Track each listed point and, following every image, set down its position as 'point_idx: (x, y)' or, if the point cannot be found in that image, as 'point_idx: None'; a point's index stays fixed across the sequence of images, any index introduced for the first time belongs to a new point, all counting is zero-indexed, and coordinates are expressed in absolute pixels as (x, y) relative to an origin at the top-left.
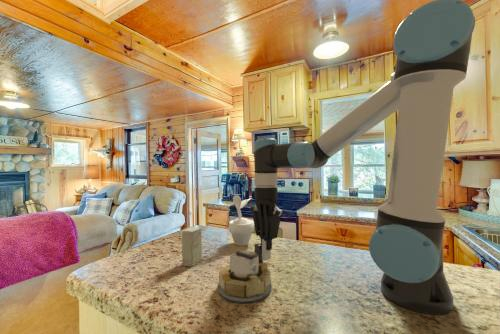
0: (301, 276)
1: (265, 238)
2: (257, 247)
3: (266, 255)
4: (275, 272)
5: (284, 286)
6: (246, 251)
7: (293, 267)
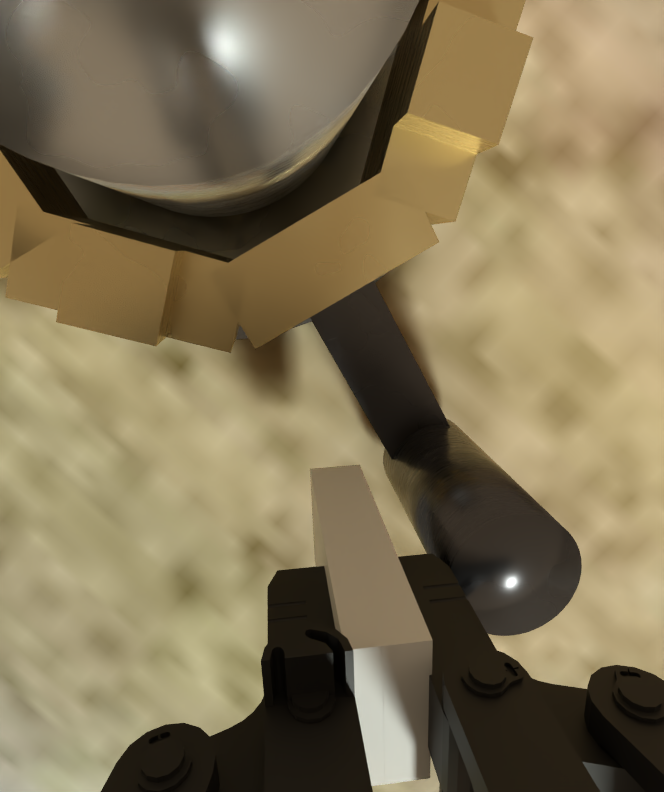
0: (55, 619)
1: (325, 686)
2: (479, 517)
3: (316, 521)
4: (257, 506)
5: (3, 388)
6: (321, 83)
7: (224, 680)
